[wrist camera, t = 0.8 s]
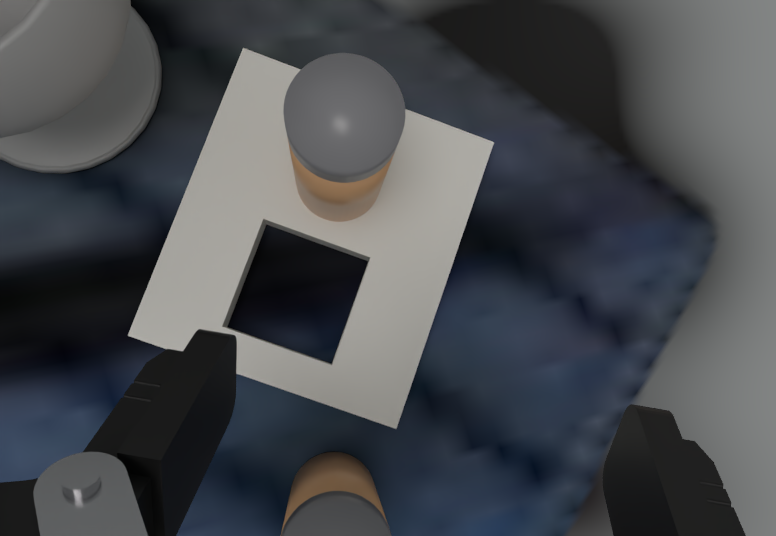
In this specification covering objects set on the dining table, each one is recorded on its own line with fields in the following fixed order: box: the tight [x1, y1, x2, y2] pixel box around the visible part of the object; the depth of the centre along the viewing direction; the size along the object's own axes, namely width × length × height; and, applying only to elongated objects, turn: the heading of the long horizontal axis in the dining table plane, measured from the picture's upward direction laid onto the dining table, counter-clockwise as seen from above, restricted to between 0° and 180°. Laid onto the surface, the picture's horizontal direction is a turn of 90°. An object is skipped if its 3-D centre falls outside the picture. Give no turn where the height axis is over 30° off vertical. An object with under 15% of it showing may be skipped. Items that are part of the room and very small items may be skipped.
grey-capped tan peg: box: [281, 452, 392, 536], centre depth 33 cm, size 5×5×12 cm
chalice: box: [0, 0, 162, 173], centre depth 33 cm, size 14×14×15 cm
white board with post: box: [128, 48, 494, 429], centre depth 34 cm, size 16×18×14 cm
